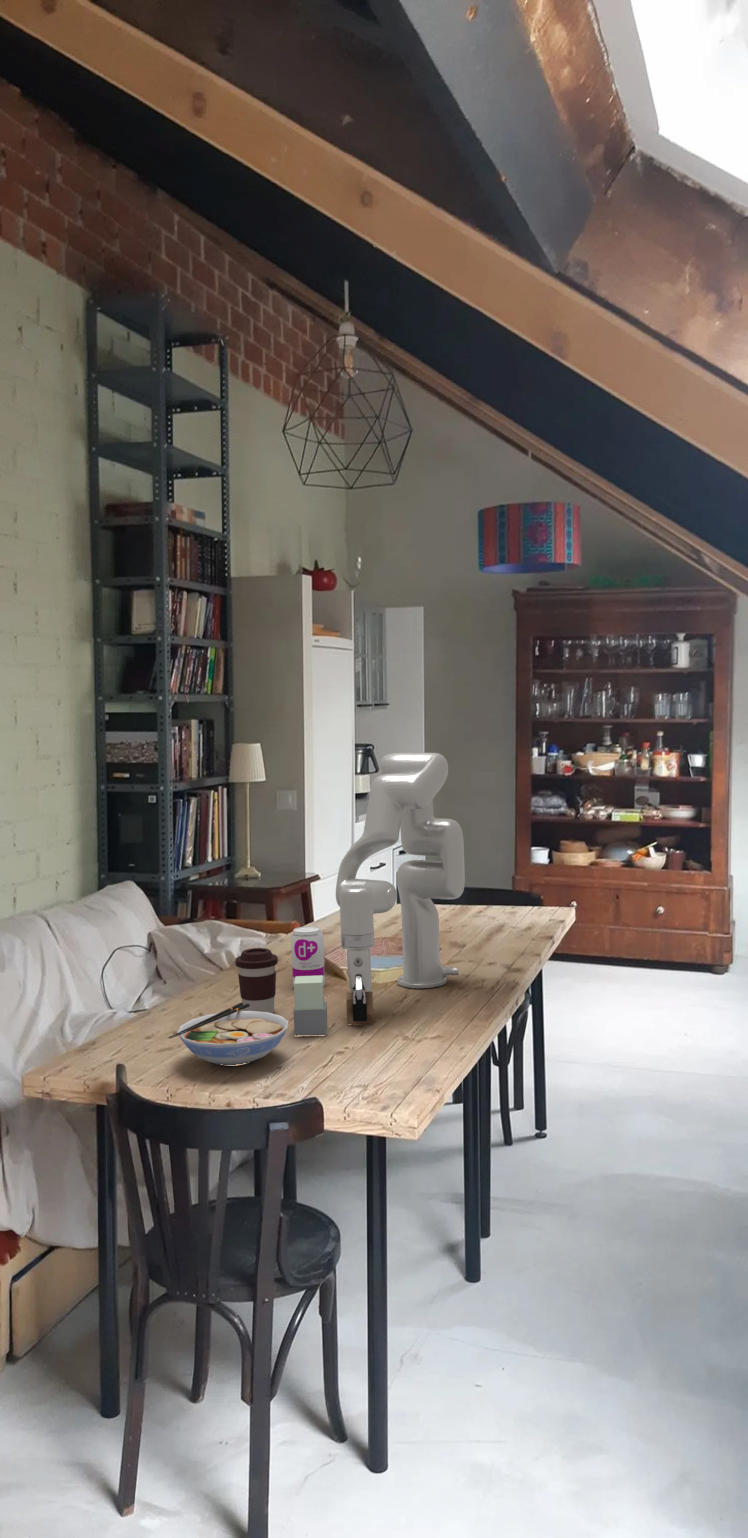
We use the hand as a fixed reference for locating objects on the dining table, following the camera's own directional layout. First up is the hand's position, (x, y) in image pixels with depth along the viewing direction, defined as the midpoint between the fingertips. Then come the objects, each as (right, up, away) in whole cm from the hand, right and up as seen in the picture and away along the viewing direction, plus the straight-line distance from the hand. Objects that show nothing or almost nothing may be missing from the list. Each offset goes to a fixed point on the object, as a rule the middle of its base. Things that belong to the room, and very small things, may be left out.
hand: (360, 1014), depth 257 cm
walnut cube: (0, -1, 0) cm, 1 cm away
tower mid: (-11, +4, -8) cm, 14 cm away
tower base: (-11, -2, -7) cm, 13 cm away
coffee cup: (-24, -2, +9) cm, 26 cm away
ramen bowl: (-25, -4, -25) cm, 36 cm away
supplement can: (-13, 0, +31) cm, 34 cm away
